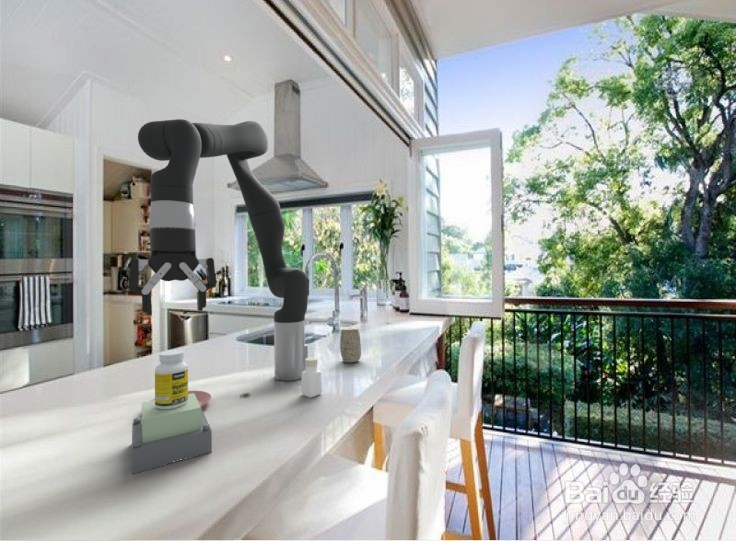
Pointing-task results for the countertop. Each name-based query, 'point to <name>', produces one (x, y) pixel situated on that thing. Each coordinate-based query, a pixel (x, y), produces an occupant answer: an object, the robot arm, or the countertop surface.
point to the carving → (350, 344)
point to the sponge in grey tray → (169, 434)
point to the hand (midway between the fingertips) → (175, 312)
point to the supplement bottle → (171, 380)
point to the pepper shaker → (311, 378)
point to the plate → (200, 397)
